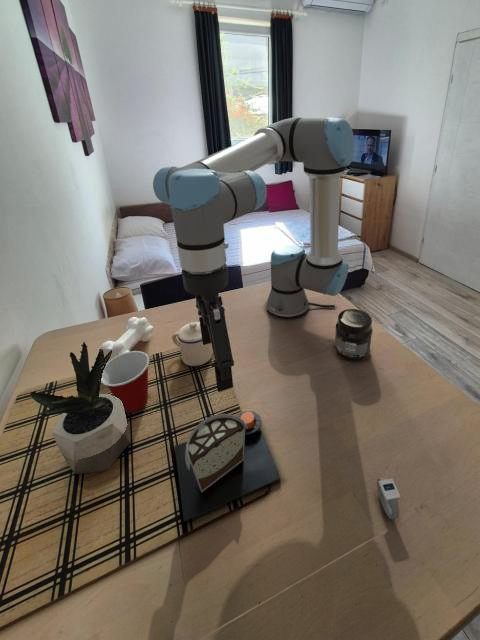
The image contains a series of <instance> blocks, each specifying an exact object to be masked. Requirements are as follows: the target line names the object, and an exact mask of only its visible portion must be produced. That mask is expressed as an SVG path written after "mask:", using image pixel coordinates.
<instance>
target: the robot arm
mask: <svg viewBox="0 0 480 640" xmlns="http://www.w3.org/2000/svg"><path fill="white" fill-rule="evenodd" d="M354 153H355V137H354V131H353V129H352V126H351V124H350V123H349V121H347V120H346V119H345V118H339V117H332V116H324V117H323V116H321V117H299V116H297V117H290V118H285V119H282V120H279V121H277V122H274V123H271V124H268V125H266V126H264V127H261V128H259V129H257V131H255V133H254V135H252V136H251V137H249V138H246V139H244V140H242V141H240V142H237V143H235V144H233V145H230V146H228V147H226V148H224V149H221V150H219V151H217V152H214V153H212V154H210V155H208V156H205V157H203V158H201V159H198V160H196V161H194V162H191V163H188V164H186V165H184V166H180V167H177V166H173V165H172V166H165V167H162V168H160V169H158V171H156V173H155V175H154V176H153V181H152V188H153V193H154V195H155V196H156V198H157V199H158V200H159V201H160V202H161V203H163V204H166V205H169V206H170V210H171V215H172V221H173V226H174V232H175V233H174V234H175V238H176V246H177V247H176V249H177V254H178V261H179V267H180V268H181V277H182V283H183V288H184V290H185V291H186V292H187V293H188V294H190V295H193V296H194V297H195V307H196V309H197V315H198V316H199V317H198V320H199V321H198V322H200V328H201V335H202V342H203V345H206V344H209V343H211V345H212V354H213V357H214V360H213V362H212V363H210V366H211V368H213V369H214V375H215V383H216V389H217V392H218V393H220V392H223V391H226V390H229V389H232V388H234V381H233V370H232V367H234V366H235V360H234V358H233V353H232V347H231V343H230V336H229V330H228V327H227V322H226V313H225V311H226V310H225V307H224V305H223V303H224V302H223V298H222V295H220V293H221V292H222V291H224V290H225V289H226V288H227V287H228V285H229V282H230V281H229V269H228V264H227V253H226V249H229V246H230V245H229V243H228V242H226V241H225V239H226V237H225V226H224V225H225V224H227V223H229V222H231V221H234V220H235V219H238V218H241V217H244V216H246V215H249V214H252V213H253V212H254V211H256V210H258V209H259V208H261V207H262V206H263V205H264V203H266V200H267V198H268V197H267V196H268V190H267V184H266V182H265V180H264V178H263V177H262V176H261V175H260V174H258V172H255V171H257V170H259V169H261V168H262V167H264V166H266V165H268V166H270V165H275V164H277V163H279V162H291V163H293V162H294V163H303V173H304V174H305V175H306V176H307V177H308V180H309V181H308V182H309V185H308V187H309V235H310V238H309V239H310V241H309V242H310V249H309V250H308V251H307V252H306V250H305V248H304V247H303V246H301V245H295V244H292V245H284V246H280V247H277V248H276V249H274V250H273V251H272V252H271V254H270V261H269V262H270V263H269V264H270V284H271V287H270V291H269V293H268V297H267V300H266V310H267V311H268V313H269V314H270V315H272V316H274V317H277V318H280V319H295V318H299V317H302V316H303V315H304V314H306V313H307V311H308V310H309V306H313V307H318V308H335V307H336V305H335V304H320V303H314V302H309V300H308V298H307V294H306V291H305V290H308V291H310V292H315V293H319V294H323V296H324V295H327V296H331V297H335V296H337V295H339V294H340V293H341V291H342V289H343V287H344V286H345V283H346V280H347V277H348V274H349V269H350V268H349V266H350V265H349V263H348V262H346V261H343V253H342V252H341V251H340V250H339V224H340V187H341V185H340V184H341V176H342V175H343V174H344V173H345V172H346V167H348V166H349V165H351V164H352V161H353V159H354Z"/></svg>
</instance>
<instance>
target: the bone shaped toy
mask: <svg viewBox="0 0 480 640" xmlns="http://www.w3.org/2000/svg"><path fill="white" fill-rule="evenodd" d="M153 331H154V326H153V325H151V324H150V322H149V321H148V319H147V318H146V317H145V316H144V317H136V316H133V317H130V318H129V319H128V321H127V326H126V328H125V331H124V333H123V334H122V335H121V336H120V337H119V338H118V339H117V340H115V341H114V340H106V341H104V342H103V343H102V344H101V347H100V349H101V351H102V350H103V351H104V355H105V356H106V355H107V354H108V353H109V352H110V351H111V350H112V354H111V357H110V359H109V361H110V360H111V359H113V358H114V357H116V356H118V355H121V354H123V353H126V352H131V350H132V349H134V347H135V346H136V345H137V344H138V343H139V342H148V341H149V340H150V339H151V337H152V335H151V334H152V333H153Z"/></svg>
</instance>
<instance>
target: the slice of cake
mask: <svg viewBox="0 0 480 640" xmlns="http://www.w3.org/2000/svg"><path fill="white" fill-rule="evenodd" d="M237 416H238V415H234V414H231V413H229V414H228V413H220V414H215V415H212V416H209V417H207V418H205V419H204V420H202V421H200V422H199V424H197V425H196V426H195V428H193V430H192V431H191V432H190V435H189V437H188V439H187V441H186V442H187V445H186V454H185V460H186V465H187V467H188V470H189V469H190V464H191V467H192V469H193V472H194V475H195V478H196V480H197V483H198V486H199V489H200V491H201V493H202V492H203V491H204V490H205V489H207V488H208V487H209V486H211V485H212V484H213V483H215V482H216V481H217V480H219V479H220V478H221V477H222V476H224V475H225V474H226V473H228V472H229V471H230V470H232V469H233V468H234V467H235V466H237V465H238V464H239V463H241V462H242V461H243V460H244V443H245V427H246V428H247V429H248V427H247V424H246V423H245V422H244V421H243V420H242V419H241V418H239V417H237Z"/></svg>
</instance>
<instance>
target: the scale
mask: <svg viewBox="0 0 480 640" xmlns="http://www.w3.org/2000/svg"><path fill="white" fill-rule="evenodd" d="M245 412H251V413H253V414H254V421H255V423H254V426H253V427H252V428H250V429H245V443H244V460H243V461H242V462H241V463H239V464H238V465H237V466H235V467H234V468H233V469H232V470H230V471H229V472H228V473H226V474H225V475H224V476H222V477H221V478H220V479H219V480H217V481H216V482H215V483H213V484H212V485H211V486H209V487H208V488H207V489H205V490H204V491H203V492H202V493H201V491H200V489H199V486H198V483H197V480H196V478H195V475H194V472H193V469H192V467H191V464H190V469H189V470H188V467H187V465H186V460H185V454H186V445H187V442H188V441H186V442H181V443H179V444H177V445H174V453H175V461H176V470H177V478H178V485H179V486H178V487H179V493H180V501H181V502H180V503H181V509H182V511H181V512H182V518H183V524H184V525H185V526H186V525H188V524H190V523H192V522H194V521H196V520H199V519H201V518H203V517H206V516H207V515H210V514H213V513H214V512H216V511H219V510H221V509H224V508H225V507H228V506H230V505H232V504H234V503H237V502H239V501H241V500H244V499H246V498H248V497H250V496H253V495H255V494H257V493H259V492H262V491H264V490H266V489H268V488H270V487H272V486H275V485H277V484H279V483H281V482H282V481H281V475H280V473H279V471H278V468H277V466H276V463H275V461H274V458H273V456H272V454H271V451H270V449H269V446H268V443H267V441H266V438H265V436H264V433H263V431H262V427H263V425H262V418H261V415H260V414H259V413H257V412H256V411H254V410H245V411H242V412H240V413H239V414H238V415H236V416H237V417H239V418H241V415H242V414H243V413H245Z"/></svg>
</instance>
